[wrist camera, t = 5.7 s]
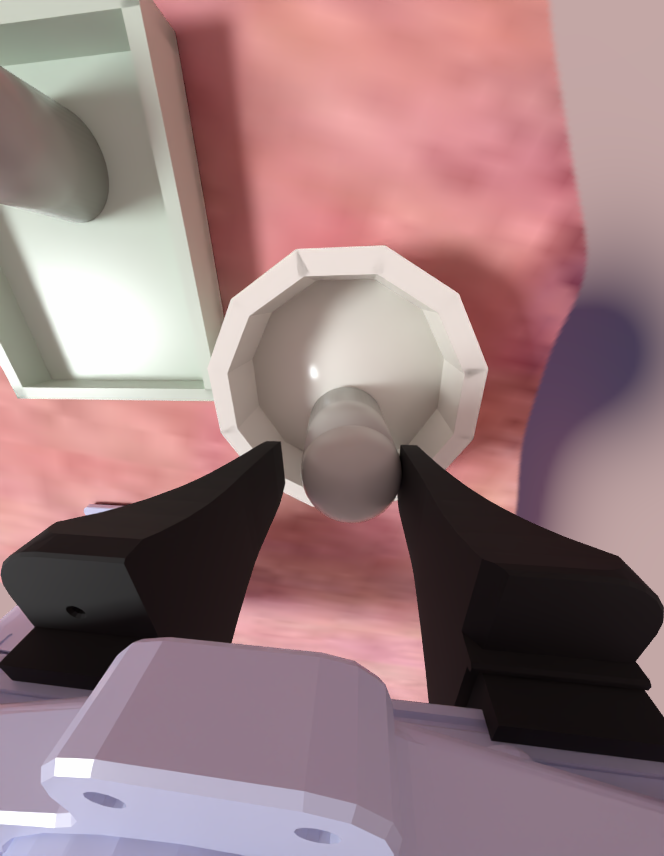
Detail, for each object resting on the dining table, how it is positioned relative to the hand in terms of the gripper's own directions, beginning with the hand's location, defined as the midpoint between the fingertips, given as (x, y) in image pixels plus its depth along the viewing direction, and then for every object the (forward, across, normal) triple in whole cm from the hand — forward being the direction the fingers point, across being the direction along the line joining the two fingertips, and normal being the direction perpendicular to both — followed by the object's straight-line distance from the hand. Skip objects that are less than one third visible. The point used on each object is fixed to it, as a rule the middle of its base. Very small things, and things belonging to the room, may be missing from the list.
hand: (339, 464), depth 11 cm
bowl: (+5, 0, -2) cm, 5 cm away
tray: (+5, +12, -8) cm, 15 cm away
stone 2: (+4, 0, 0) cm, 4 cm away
